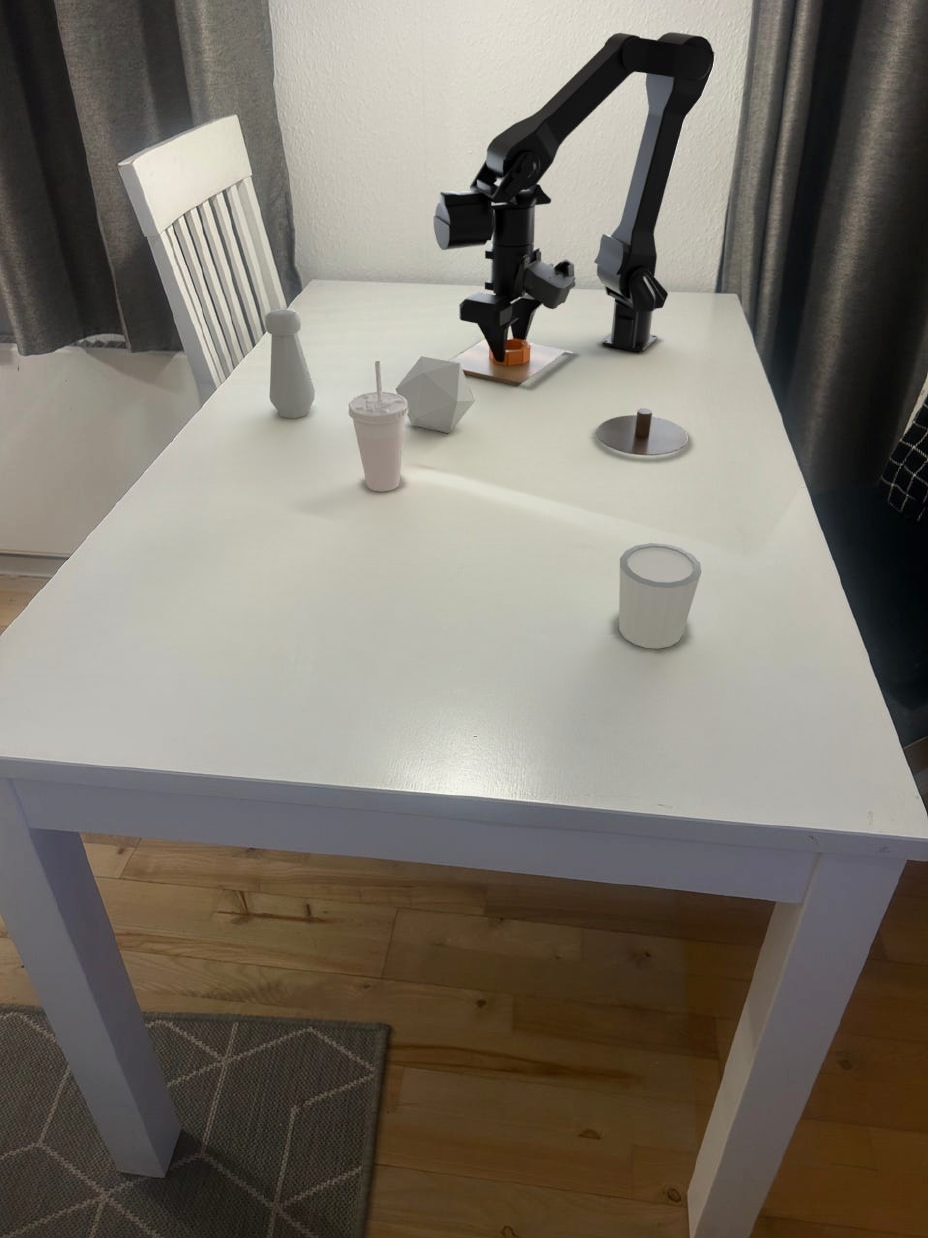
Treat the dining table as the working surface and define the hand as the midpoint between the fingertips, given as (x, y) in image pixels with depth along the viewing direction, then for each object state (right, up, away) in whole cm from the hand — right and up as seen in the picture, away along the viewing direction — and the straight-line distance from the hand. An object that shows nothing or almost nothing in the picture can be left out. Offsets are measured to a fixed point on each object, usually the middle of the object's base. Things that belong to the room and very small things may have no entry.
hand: (509, 354), depth 131 cm
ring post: (+15, -16, -20) cm, 30 cm away
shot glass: (+10, -39, -50) cm, 64 cm away
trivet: (0, -1, +1) cm, 1 cm away
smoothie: (-16, -23, -28) cm, 39 cm away
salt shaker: (-29, -11, -13) cm, 33 cm away
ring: (0, 0, 0) cm, 0 cm away
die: (-10, -14, -16) cm, 23 cm away
